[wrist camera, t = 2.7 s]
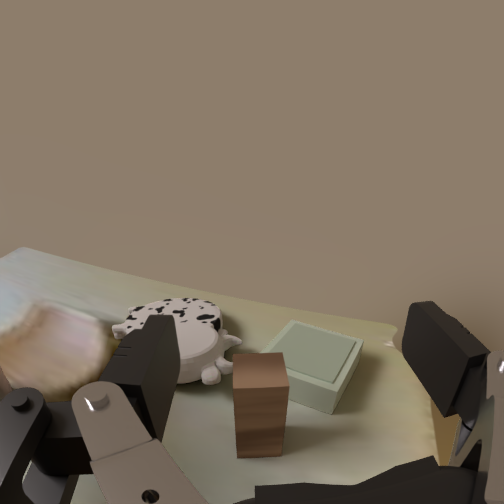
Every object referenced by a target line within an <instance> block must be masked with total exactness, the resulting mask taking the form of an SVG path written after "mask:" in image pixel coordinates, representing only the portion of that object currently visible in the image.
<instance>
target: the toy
mask: <svg viewBox="0 0 504 504" xmlns="http://www.w3.org/2000/svg"><path fill="white" fill-rule="evenodd" d="M128 311H129V316H128V318H127V319H126V321H125V323H123V324H120V325H113V326H112V330H113V332H114V336H115V338H116V339H123V337H124V336H126V335H127V334H128V333H130V332H131V331H132V330H134V329H142V327H143V325H144V323H145V322H146V320H147V318H148V316H149V315H151V314H153V315H173V317H174V320H175V326H176V333H177V339H178V345H179V351H180V361H181V365H180V373H179V377H178V381H177V383H189V382H193V381H196V380H199V379H202V381H203V383H204V384H206V385H214V384H217V383H219V382H220V381H221V374H225V375H226V374H229V373H232V372H233V362H229V361H227V360H225V359H224V352H225V351H226V350H228V349H229V348H230V347H232V346H235V345H240V344H242V340H241V339H240V338H238V337H236V336H232V335H228V331H227V330H225V329H222V326H223V319H222V313H221V310H220V309H219V308H218V307H217V306H216V305H215V304H213V303H211V302H209V301H205V300H201V299H194V298H174V299H166V300H161V301H156V302H153V303H149V304H147V305H145V306H141V307H130V308H129V309H128Z"/></svg>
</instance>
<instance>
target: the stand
mask: <svg viewBox="0 0 504 504" xmlns="http://www.w3.org/2000/svg"><path fill="white" fill-rule="evenodd" d="M363 343H364V340H362V339H358V338H355V337H351V336H347V335H344V334H340V333H337V332H333V331H330V330H326V329H323V328H319V327H316V326H313V325H309V324H306V323H302V322H299V321H296V320H291V321H290V322H289V323H288V324H287V325H286V326H285V327H284V328H283V329H282V331H281V332H280V333H279V334H278V335H277V336H276V337H275V338H274V339H273V340H272V341H271V342H270V343H269V344H268V345H267V346H266V347H265V348H264V349H263V350H262V351H261V352H260V353H276V352H283V357H284V361H285V366H286V371H287V376H288V381H289V386H290V387H289V396H288V399H290V400H292V401H295V402H297V403H300V404H303V405H306V406H308V407H311V408H314V409H317V410H320V411H322V412H325V413H328V414H331V415H332V413H333V411H334V409H335V407H336V406H337V404H338V402H339V400H340V398H341V396H342V394H343V393H344V391H345V389H346V387H347V385H348V383H349V381H350V379H351V377H352V375H353V373H354V371H355V369H356V367H357V365H358V363H359V359H360V355H361V351H362V347H363Z"/></svg>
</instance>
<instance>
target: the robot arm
mask: <svg viewBox="0 0 504 504" xmlns="http://www.w3.org/2000/svg"><path fill="white" fill-rule="evenodd" d="M402 353H403V356H404V358H405V360H406V361H407V362H408V364H409V365H410V367H411V368H412V370H413V371H414V373H415V374H416V376H417V377H418V379H419V380H420V382H421V383H422V385H423V386H424V388H425V389H426V391H427V392H428V394H429V395H430V397H431V398H432V400H433V401H434V403H435V404H436V406H437V407H438V409H439V411H440V412H441V414H442V415H443V417H444V418H445V417H448V416H452V415H455V414H459V416H460V417H461V418H460V420H459V422H458V425H457V430H456V435H455V440H454V444H453V449H452V453H451V457H450V461H449V464H448V466H438V464H437V462H436V460H435V458H434V456H429V457H426V458H423V459H420V460H416V461H413V462H409V463H406V464H402V465H398V466H395V467H393V468H391V469H389V470H387V471H385V472H383V473H381V474H379V475H377V476H375V477H372V478H370V479H368V480H366V481H364V482H361V483H359V484H356V485H329V484H314V483H294V484H281V485H262V486H255V498H251V499H247V500H243V501H240V502H237V503H234V504H504V351H502V350H498V351H493V352H490V351H489V350H488V349H487V348H486V347H485V346H484V345H483V344H482V343H481V342H480V341H479V340H478V339H477V338H476V337H474V335H473V334H470V332H469V331H468V330H467V329H466V328H464V327H463V325H462V324H461V323H460V322H459V321H458V320H457V319H455V318H453V317H451V316H450V315H448V314H446V313H445V312H444V311H442V309H440V308H439V307H438V306H437V305H436V304H435V303H434V302H433V301H425V302H417V303H412V304H411V305H410V307H409V311H408V316H407V321H406V326H405V331H404V336H403V339H402ZM113 355H114V356H112V358H111V359H110V361H109V363H108V364H107V366H106V368H105V370H104V371H103V373H102V375H101V377H100V378H99V380H98V382H93V383H90V384H87V385H85V386H83V387H81V388H80V389H79V390H78V391H77V392H76V393H75V394H74V396H73V398H72V401H66V402H50V403H46V402H45V400H44V398H43V396H42V394H41V393H40V392H39V391H38V390H36V389H34V388H28V387H27V388H19V389H16V390H14V391H13V390H12V388H11V386H10V384H9V382H8V380H7V378H6V376H5V375H4V373H3V371H2V369H1V367H0V504H70V503H71V499H72V496H73V493H74V490H75V487H76V484H77V481H78V478H79V475H83V474H94V475H95V477H96V479H97V482H98V484H99V486H100V488H101V490H102V492H103V494H104V496H105V499H106V501H107V503H108V504H208V503H207V502H206V500H205V499H204V498H203V497H202V496H201V495H200V493H199V492H198V491H197V490H196V489H195V487H194V486H193V485H192V484H191V482H190V481H189V480H188V479H187V477H186V476H185V475H184V474H183V472H182V471H181V470H180V468H179V467H178V466H177V464H176V463H175V462H174V460H173V459H172V458H171V456H170V455H169V454H168V452H167V451H166V449H165V448H164V447H163V445H162V444H161V442H162V438H163V434H164V430H165V426H166V422H167V418H168V415H169V411H170V407H171V403H172V399H173V396H174V392H175V388H176V384H177V381H178V377H179V373H180V365H181V361H180V351H179V345H178V339H177V333H176V326H175V320H174V317H173V315H153V314H151V315H149V316H148V318H147V320H146V322H145V323H144V325H143V327H142V329H134V330H132V331H131V332H130V333H128V334H127V335H126V336H124V337H123V339H122V341H121V342H120V344H119V346H118V348H117V349H116V351H115V352H114V354H113ZM30 460H31V461H32V464H31V466H30V468H29V470H28V472H27V475H26V477H25V479H24V482H23V484H22V479H23V476H24V473H25V471H26V469H27V467H28V465H29V462H30Z"/></svg>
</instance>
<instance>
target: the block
mask: <svg viewBox="0 0 504 504" xmlns="http://www.w3.org/2000/svg"><path fill="white" fill-rule="evenodd" d="M289 387H290V386H289V381H288V376H287V371H286V366H285V361H284V357H283V352H276V353H249V354H233V398H234V416H235V432H236V448H237V458H260V457H277V456H281V453H282V445H283V438H284V430H285V422H286V414H287V405H288V396H289Z"/></svg>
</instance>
